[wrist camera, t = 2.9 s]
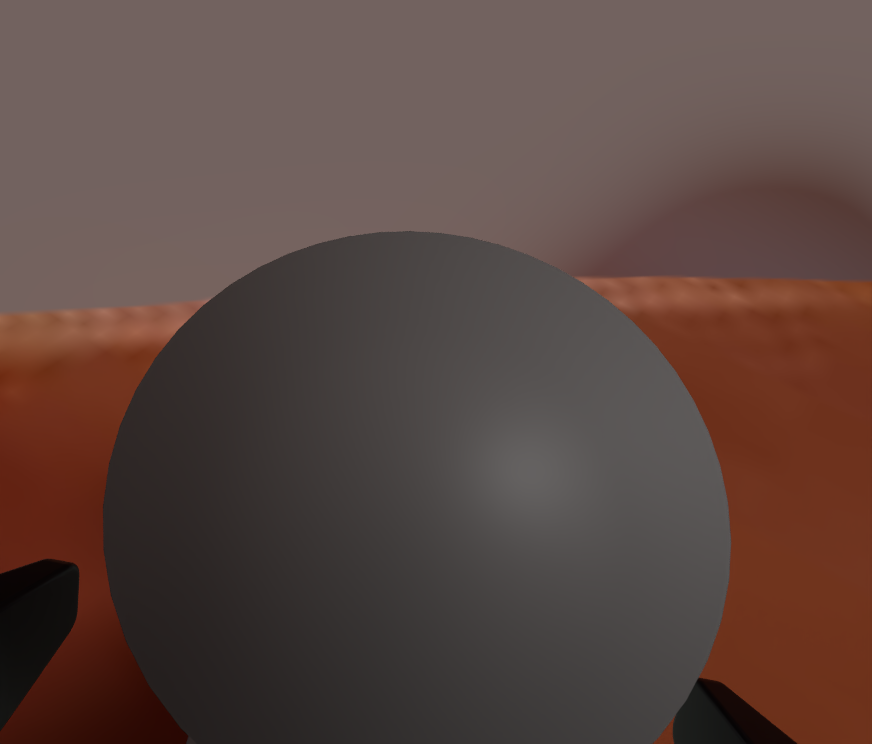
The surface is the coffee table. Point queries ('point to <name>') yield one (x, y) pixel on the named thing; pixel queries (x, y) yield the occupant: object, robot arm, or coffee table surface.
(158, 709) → the coffee table surface
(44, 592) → the robot arm
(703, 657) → the carriage
